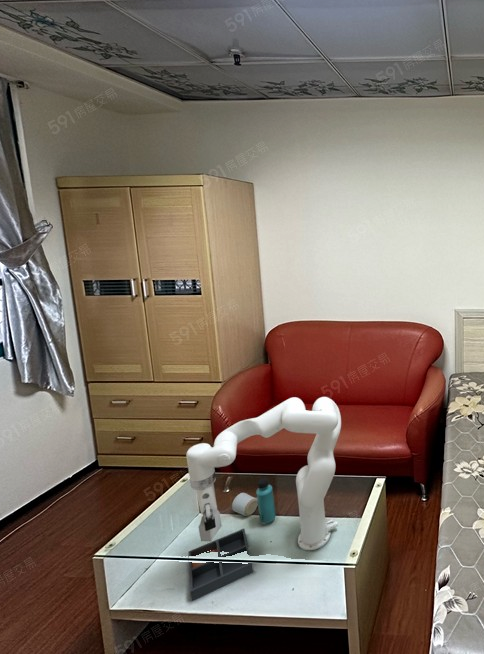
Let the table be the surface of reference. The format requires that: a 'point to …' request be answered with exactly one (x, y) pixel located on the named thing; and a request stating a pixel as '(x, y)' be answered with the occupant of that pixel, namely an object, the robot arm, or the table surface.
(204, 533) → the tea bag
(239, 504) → the ceramic mug
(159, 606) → the table surface
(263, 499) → the beverage bottle
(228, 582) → the tray
